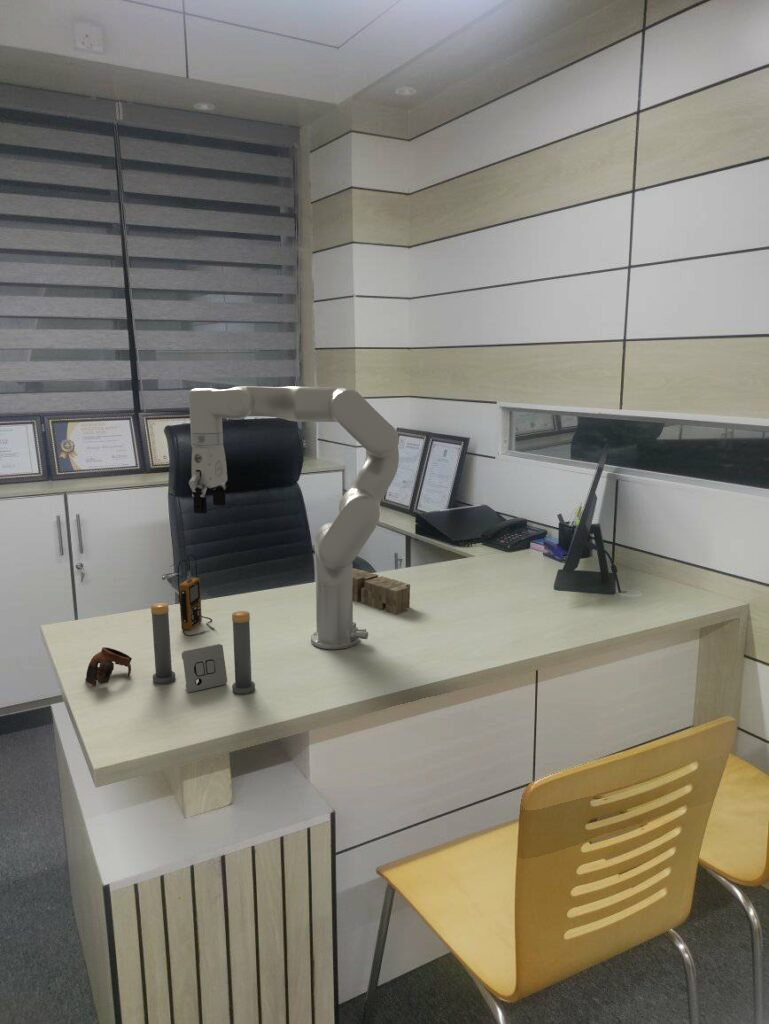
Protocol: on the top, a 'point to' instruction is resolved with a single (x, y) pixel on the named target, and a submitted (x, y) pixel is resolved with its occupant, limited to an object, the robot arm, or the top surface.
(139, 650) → the top surface
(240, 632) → the post near
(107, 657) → the brown curved hollow piece
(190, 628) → the multimeter
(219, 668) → the electrical switch
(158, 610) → the post far
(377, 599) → the block tower
